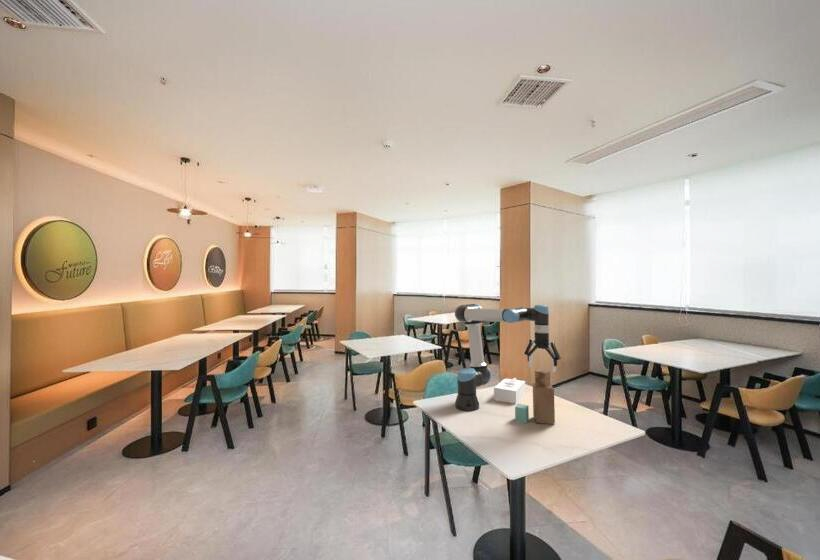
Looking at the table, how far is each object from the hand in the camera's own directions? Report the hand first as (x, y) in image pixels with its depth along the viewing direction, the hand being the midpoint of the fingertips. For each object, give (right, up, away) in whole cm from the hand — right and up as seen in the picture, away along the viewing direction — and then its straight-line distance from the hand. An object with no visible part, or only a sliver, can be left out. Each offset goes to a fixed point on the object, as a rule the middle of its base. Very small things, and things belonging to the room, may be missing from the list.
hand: (542, 369), depth 188 cm
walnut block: (0, -9, 0) cm, 9 cm away
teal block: (-11, -29, 0) cm, 31 cm away
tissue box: (-6, -30, +40) cm, 51 cm away
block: (+1, -29, -1) cm, 29 cm away
